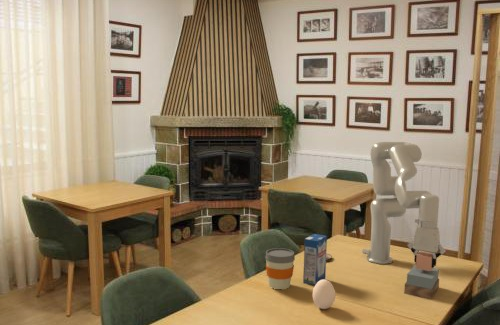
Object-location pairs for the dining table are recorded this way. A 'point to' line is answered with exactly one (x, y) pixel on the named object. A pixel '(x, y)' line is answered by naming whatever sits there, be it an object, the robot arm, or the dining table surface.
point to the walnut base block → (421, 290)
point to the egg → (323, 294)
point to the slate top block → (422, 277)
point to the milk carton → (314, 259)
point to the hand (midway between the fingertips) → (425, 265)
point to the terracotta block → (424, 261)
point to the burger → (328, 257)
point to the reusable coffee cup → (279, 267)
